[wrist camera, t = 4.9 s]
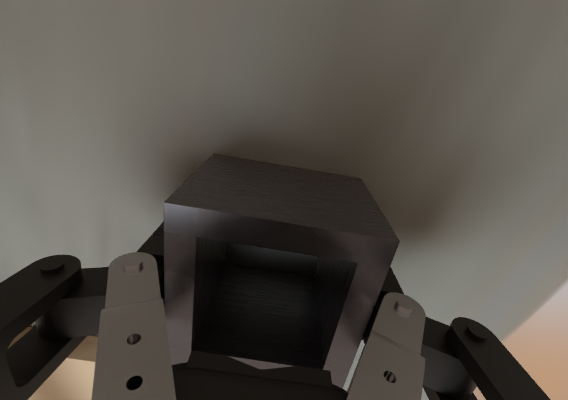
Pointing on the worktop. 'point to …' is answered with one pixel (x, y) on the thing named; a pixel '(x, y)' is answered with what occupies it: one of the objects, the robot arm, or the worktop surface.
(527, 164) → the worktop surface
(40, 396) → the post stand
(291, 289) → the steel collar
